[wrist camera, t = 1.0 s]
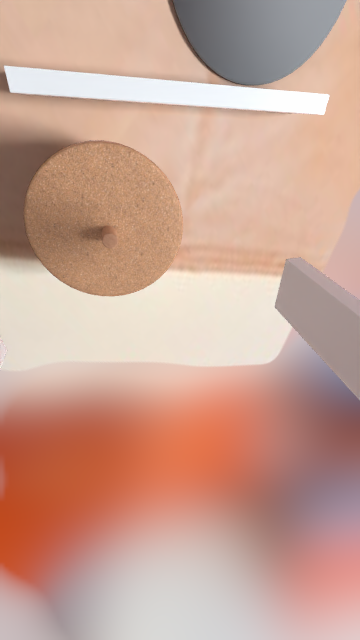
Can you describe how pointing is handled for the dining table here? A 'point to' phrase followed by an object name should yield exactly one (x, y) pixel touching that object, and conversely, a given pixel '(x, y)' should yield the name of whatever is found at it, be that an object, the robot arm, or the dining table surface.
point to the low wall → (160, 91)
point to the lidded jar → (103, 218)
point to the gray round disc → (256, 34)
